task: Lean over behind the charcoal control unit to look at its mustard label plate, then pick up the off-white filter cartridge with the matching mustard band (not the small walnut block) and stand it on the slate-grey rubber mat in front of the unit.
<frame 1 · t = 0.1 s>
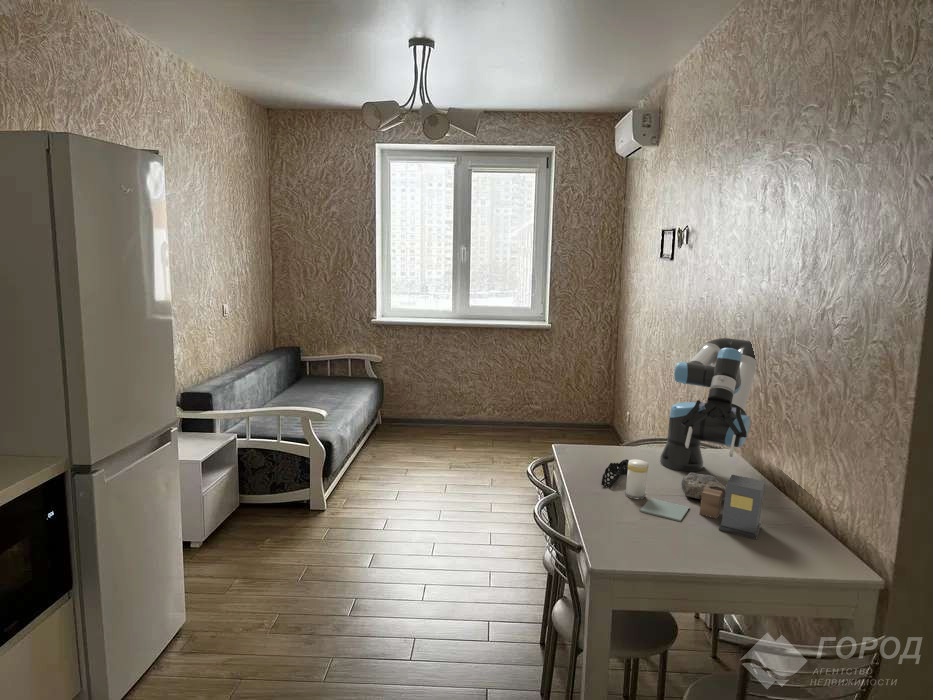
hand: (708, 451, 214), 15 cm above the table, tool tilted 35°, fingers open, 13 cm apart
rock: (702, 497, 218), on the table
decorative element: (616, 479, 229), on the table
mat: (664, 510, 204), on the table
walnut block: (709, 513, 203), on the table
cartridge: (634, 495, 214), on the table
control unit: (740, 528, 193), on the table
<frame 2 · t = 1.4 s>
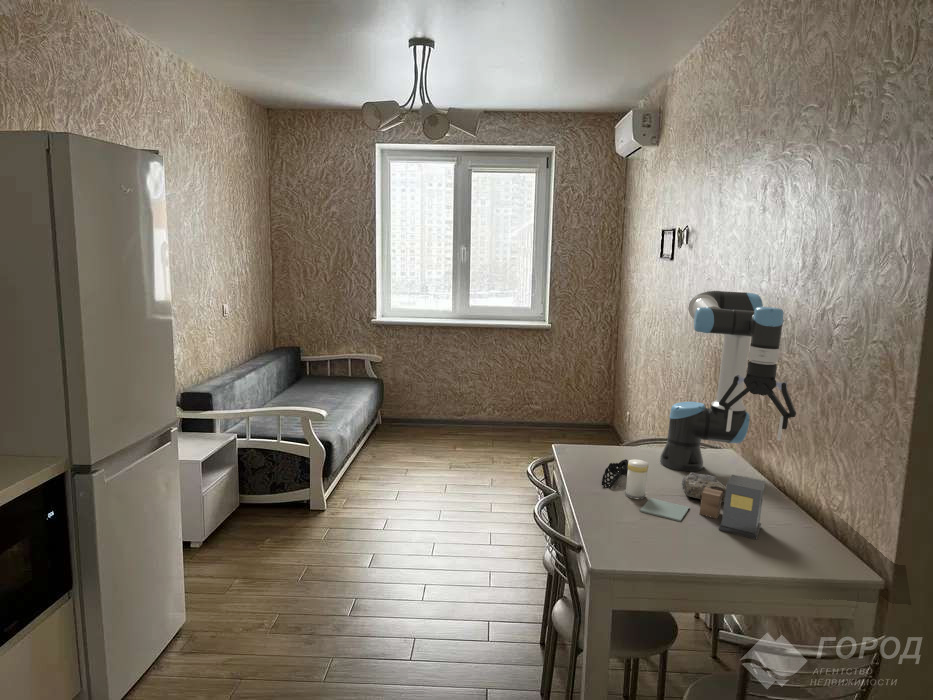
hand: (753, 435, 192), 27 cm above the table, tool pointing down, fingers open, 13 cm apart
nothing on the table moved.
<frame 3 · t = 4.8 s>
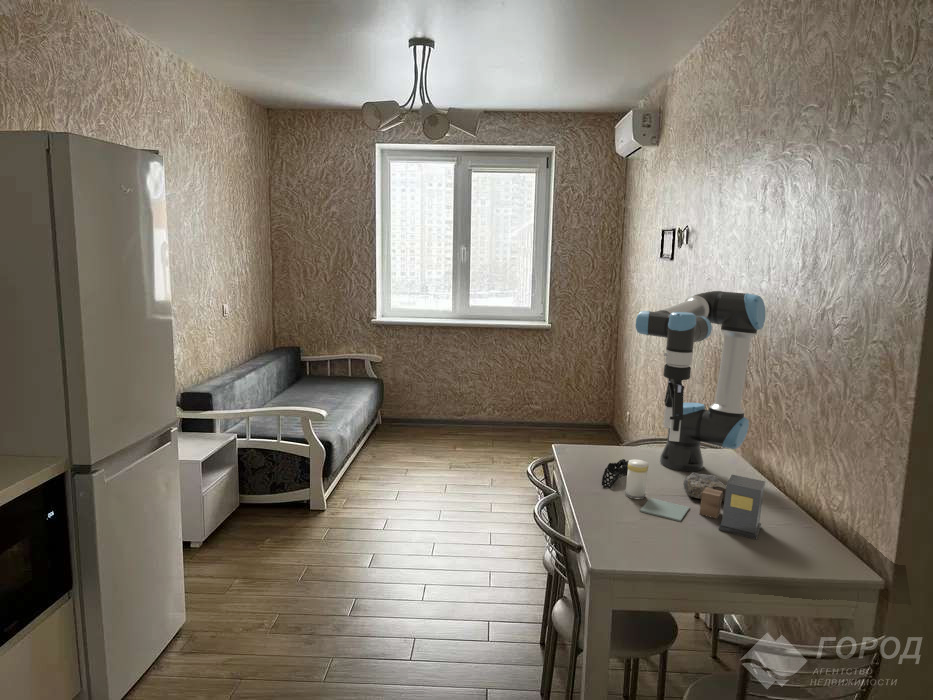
hand: (670, 434, 201), 23 cm above the table, tool pointing down, fingers open, 13 cm apart
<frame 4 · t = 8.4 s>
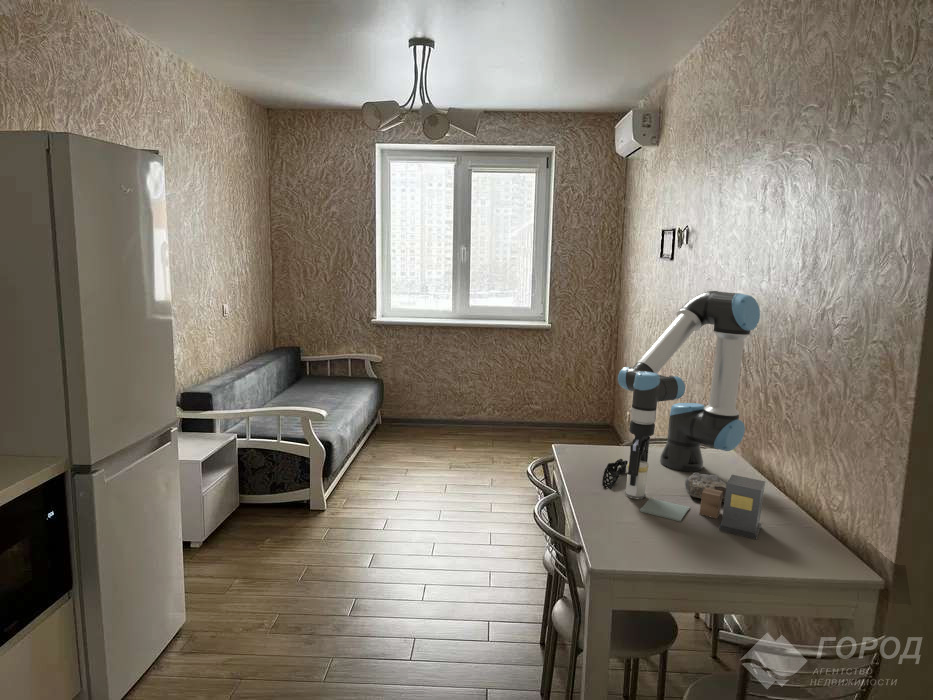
hand: (635, 491, 214), 1 cm above the table, tool pointing down, fingers closed on cartridge, 6 cm apart
cartridge: (634, 495, 214), on the table, touching gripper
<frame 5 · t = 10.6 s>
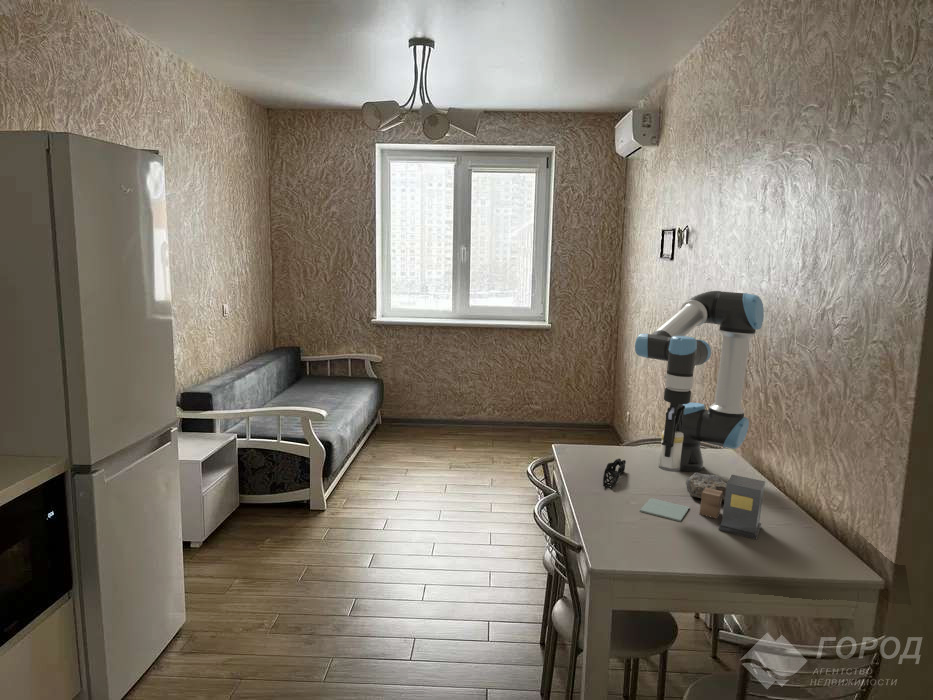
hand: (669, 463, 201), 15 cm above the table, tool pointing down, fingers closed on cartridge, 6 cm apart
cartridge: (669, 468, 202), point 13 cm above the table, touching gripper
when the fingers open (3 cm above the table, at t = 12.9 s): cartridge drops 1 cm, resting on mat.
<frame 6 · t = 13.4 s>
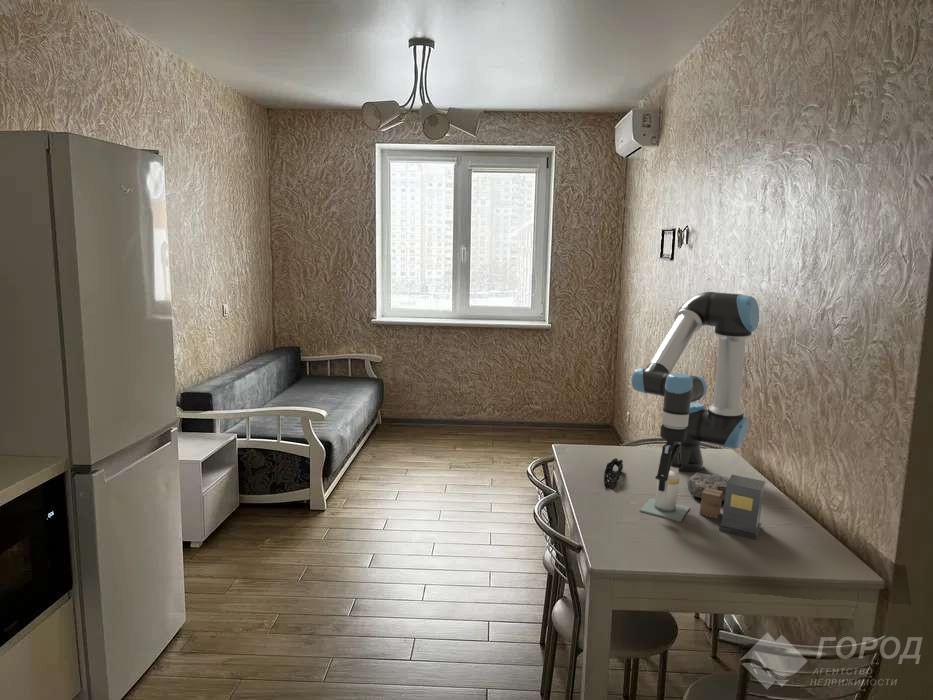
hand: (666, 493, 203), 5 cm above the table, tool pointing down, fingers open, 13 cm apart
cartridge: (665, 508, 204), point 1 cm above the table, touching mat
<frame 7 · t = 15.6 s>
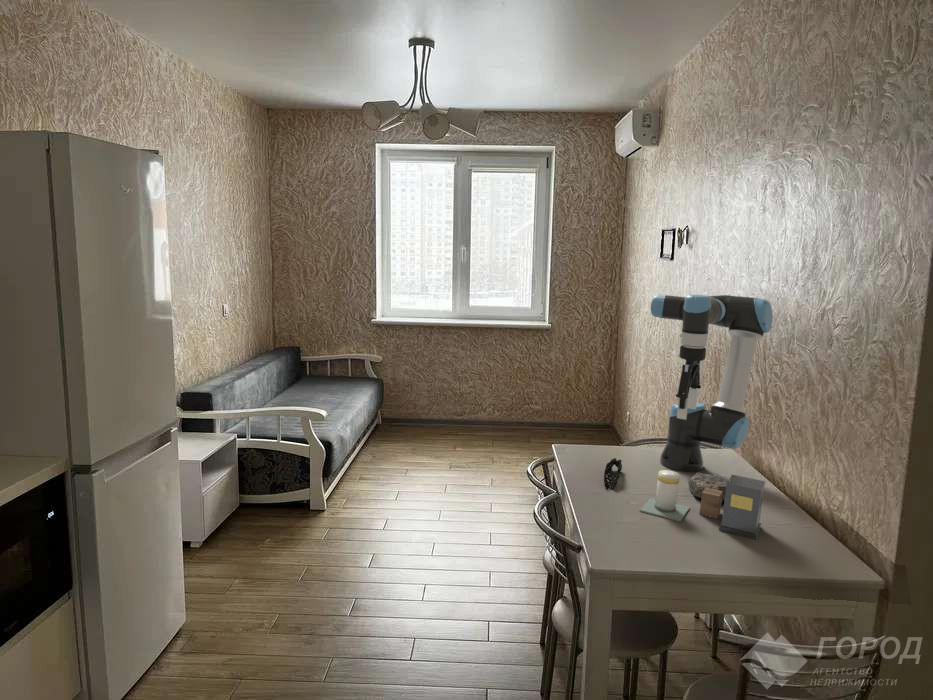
hand: (686, 413, 208), 28 cm above the table, tool pointing down, fingers open, 13 cm apart
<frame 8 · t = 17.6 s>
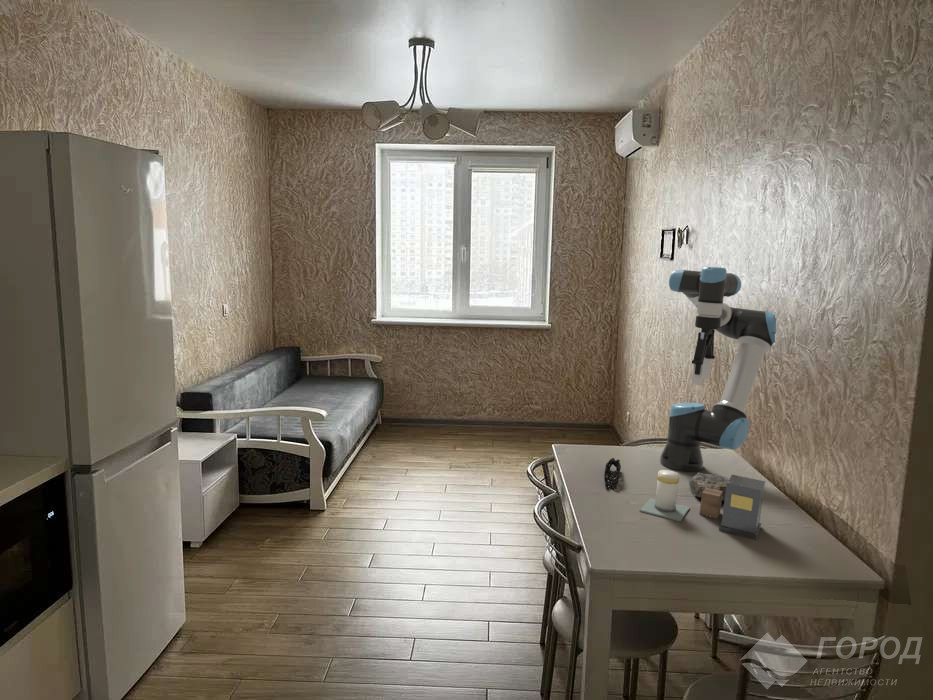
hand: (701, 381, 217), 37 cm above the table, tool pointing down, fingers open, 13 cm apart
at the end: cartridge inside the target area on the mat (0.2 cm from its centre), point 0.5 cm above the mat's base; cartridge tilted 1°; walnut block moved 0.1 cm from its start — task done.
